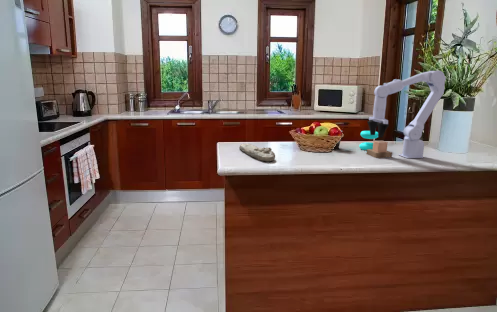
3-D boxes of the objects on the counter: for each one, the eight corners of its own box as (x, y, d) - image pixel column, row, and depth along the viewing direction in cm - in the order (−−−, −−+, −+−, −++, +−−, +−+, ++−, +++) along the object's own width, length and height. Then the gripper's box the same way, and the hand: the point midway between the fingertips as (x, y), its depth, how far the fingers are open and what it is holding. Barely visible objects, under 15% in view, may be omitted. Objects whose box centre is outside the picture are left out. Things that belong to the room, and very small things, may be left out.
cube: (381, 149, 185) (382, 140, 184) (386, 151, 180) (387, 142, 179) (372, 150, 184) (373, 140, 183) (377, 152, 180) (378, 142, 178)
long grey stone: (251, 150, 198) (235, 152, 194) (251, 141, 197) (234, 142, 193) (281, 161, 166) (262, 163, 162) (280, 150, 165) (261, 152, 161)
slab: (381, 154, 189) (382, 148, 188) (391, 158, 180) (392, 152, 179) (366, 154, 187) (366, 149, 186) (375, 158, 178) (375, 153, 178)
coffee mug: (328, 150, 194) (330, 132, 192) (322, 147, 203) (323, 129, 200) (348, 149, 197) (350, 131, 194) (341, 146, 205) (342, 129, 203)
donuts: (360, 129, 203) (378, 131, 200) (358, 147, 205) (377, 148, 202) (360, 132, 193) (380, 133, 191) (359, 150, 196) (378, 151, 193)
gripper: (364, 108, 185) (362, 133, 188) (380, 111, 171) (377, 138, 174) (377, 108, 186) (374, 133, 190) (393, 111, 173) (389, 138, 176)
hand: (376, 136), depth 182 cm, fingers open, 7 cm apart
